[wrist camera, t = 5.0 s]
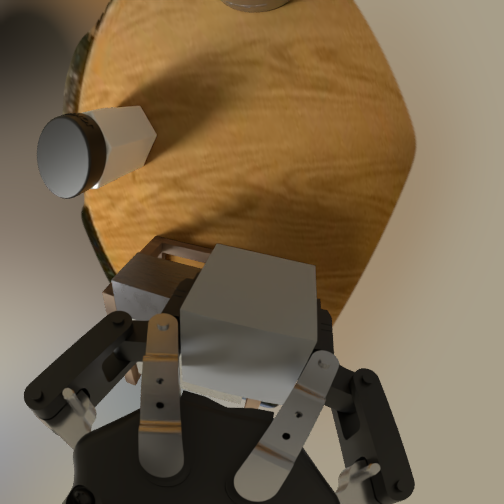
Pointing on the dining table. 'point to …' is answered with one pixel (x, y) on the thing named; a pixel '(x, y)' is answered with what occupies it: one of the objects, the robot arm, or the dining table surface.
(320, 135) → the dining table surface
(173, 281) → the trapdoor
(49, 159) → the jar
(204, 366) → the gray cube
